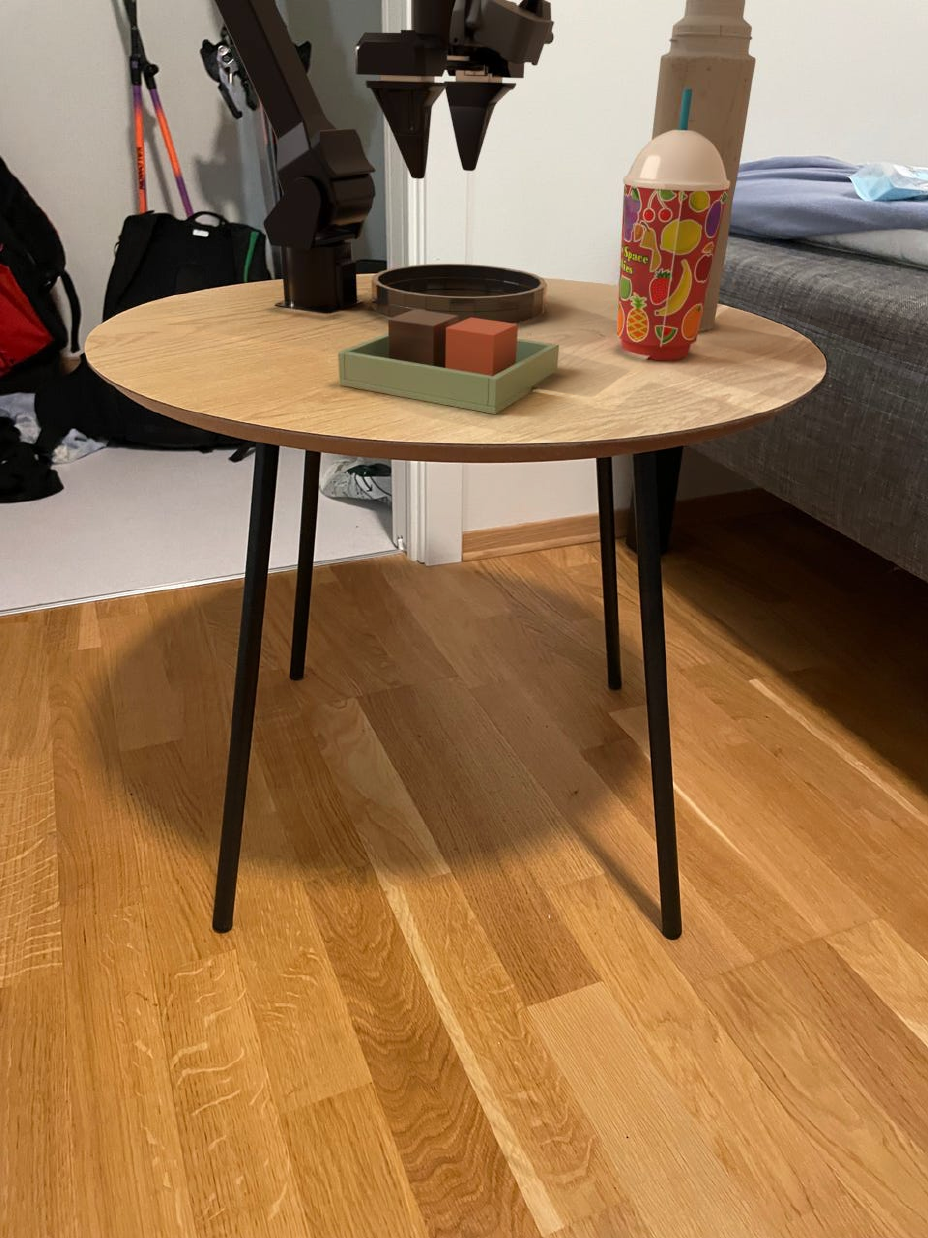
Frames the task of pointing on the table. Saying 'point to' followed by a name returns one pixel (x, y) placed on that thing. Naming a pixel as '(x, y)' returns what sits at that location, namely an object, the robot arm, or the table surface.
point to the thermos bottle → (710, 99)
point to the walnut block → (420, 337)
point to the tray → (446, 376)
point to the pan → (460, 292)
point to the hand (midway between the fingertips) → (444, 174)
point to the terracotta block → (481, 346)
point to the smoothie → (669, 240)
